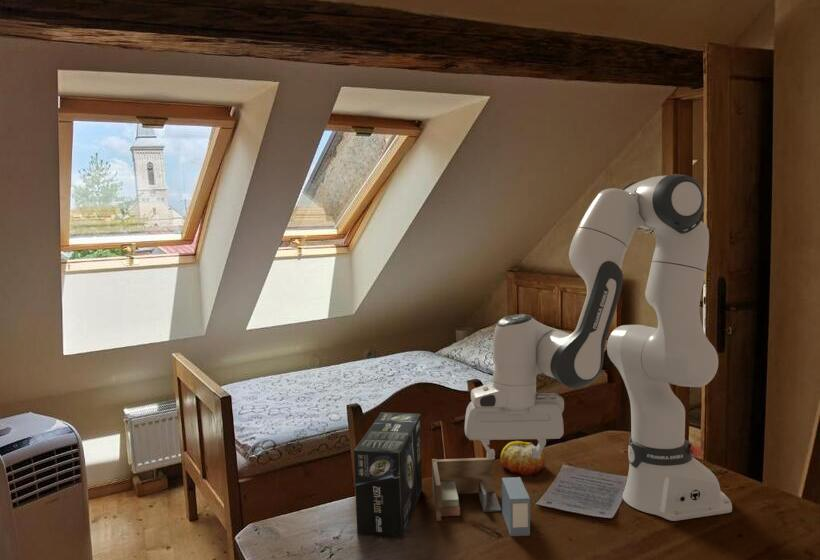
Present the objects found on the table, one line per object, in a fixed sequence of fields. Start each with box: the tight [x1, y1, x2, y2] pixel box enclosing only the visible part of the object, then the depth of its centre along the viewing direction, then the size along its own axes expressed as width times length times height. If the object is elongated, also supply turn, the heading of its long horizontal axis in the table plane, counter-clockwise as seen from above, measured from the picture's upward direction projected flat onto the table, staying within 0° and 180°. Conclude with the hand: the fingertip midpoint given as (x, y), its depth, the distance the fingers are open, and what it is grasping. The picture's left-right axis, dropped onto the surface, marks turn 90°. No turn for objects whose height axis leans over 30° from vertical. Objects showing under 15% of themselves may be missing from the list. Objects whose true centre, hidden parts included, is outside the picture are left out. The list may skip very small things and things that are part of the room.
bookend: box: [478, 479, 502, 513], centre depth 146 cm, size 4×8×4 cm, turn 2°
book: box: [501, 476, 531, 537], centre depth 136 cm, size 4×10×8 cm, turn 1°
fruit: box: [499, 440, 546, 476], centre depth 164 cm, size 11×10×8 cm
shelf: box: [431, 457, 494, 522], centre depth 145 cm, size 14×14×8 cm
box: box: [353, 412, 423, 539], centre depth 142 cm, size 23×10×19 cm, turn 168°
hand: (513, 458), depth 135 cm, fingers open, 8 cm apart
